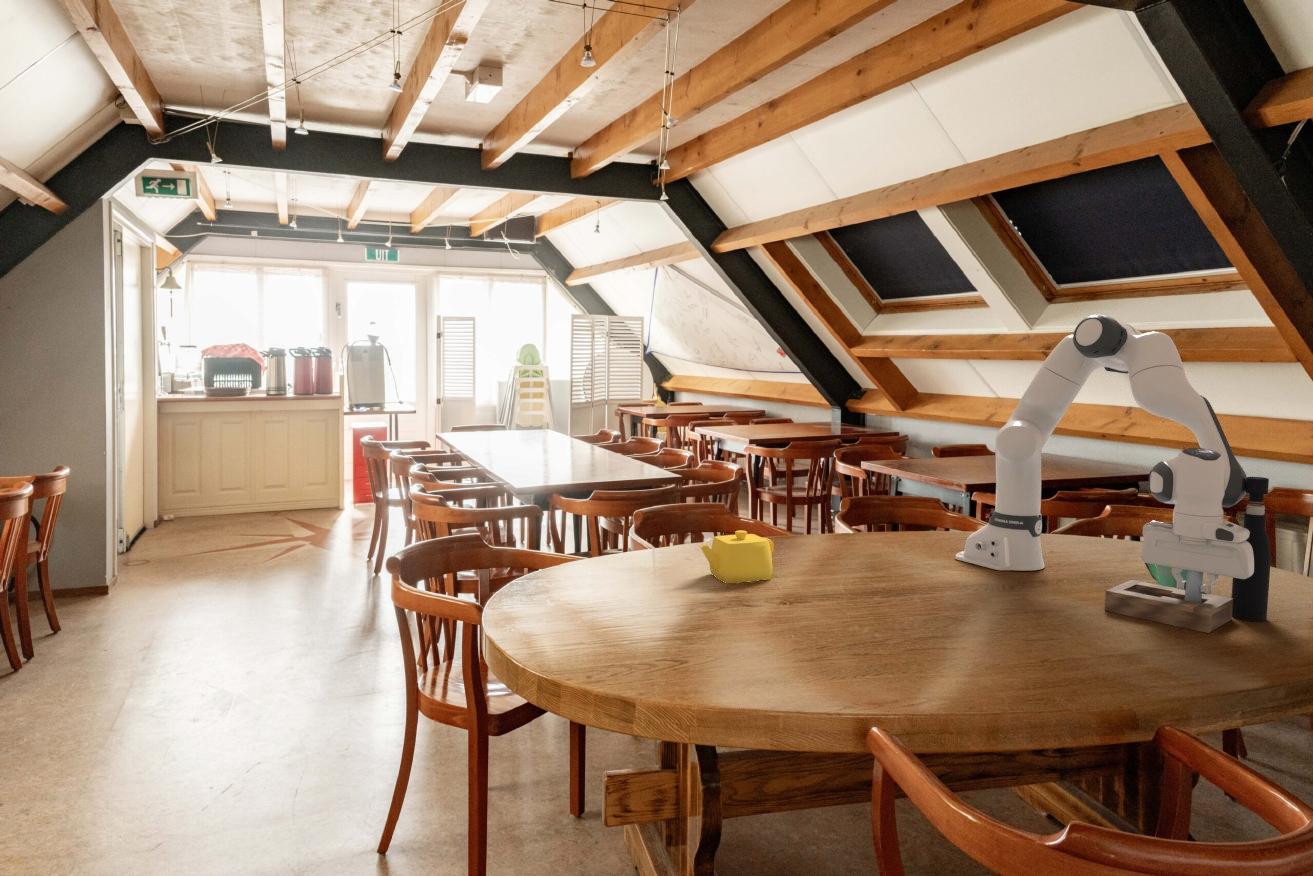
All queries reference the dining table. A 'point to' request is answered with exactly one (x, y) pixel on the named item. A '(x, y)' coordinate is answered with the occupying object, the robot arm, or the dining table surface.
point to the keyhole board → (1168, 606)
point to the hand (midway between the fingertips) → (1193, 591)
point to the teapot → (740, 557)
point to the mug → (1164, 575)
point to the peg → (1193, 586)
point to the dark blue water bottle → (1254, 590)
